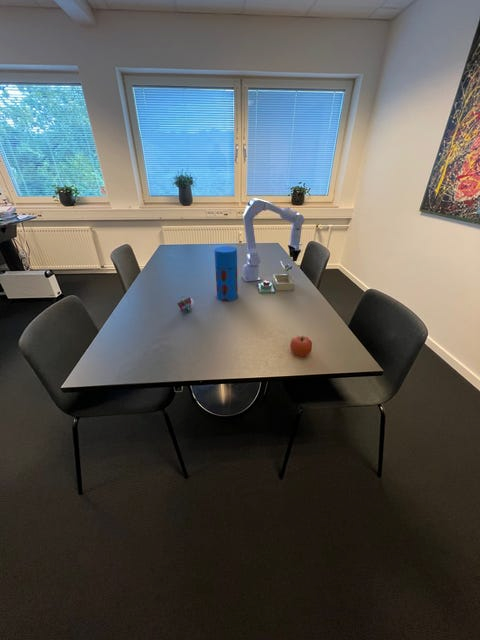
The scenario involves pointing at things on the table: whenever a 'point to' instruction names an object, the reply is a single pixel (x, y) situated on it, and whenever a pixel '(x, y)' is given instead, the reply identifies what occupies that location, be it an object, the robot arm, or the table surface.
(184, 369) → the table surface
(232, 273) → the thermos
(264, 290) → the control pad
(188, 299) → the geometric puzzle
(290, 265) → the lid
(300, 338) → the red apple
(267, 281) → the button
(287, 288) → the beige open box
